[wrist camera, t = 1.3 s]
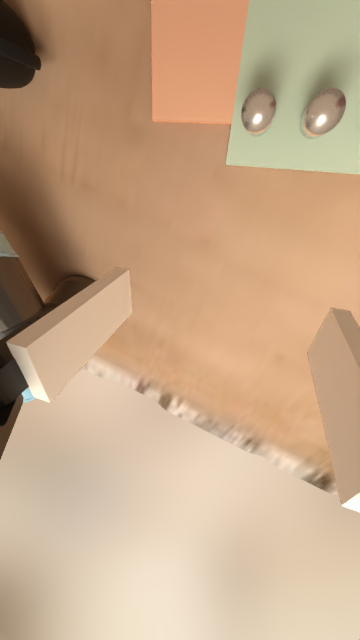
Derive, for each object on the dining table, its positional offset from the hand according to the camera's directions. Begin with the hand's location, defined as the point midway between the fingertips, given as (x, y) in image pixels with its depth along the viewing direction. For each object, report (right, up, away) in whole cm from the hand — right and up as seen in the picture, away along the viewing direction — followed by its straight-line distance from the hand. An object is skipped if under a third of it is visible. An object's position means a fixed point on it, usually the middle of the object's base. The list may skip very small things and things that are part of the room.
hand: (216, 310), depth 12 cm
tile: (0, +29, +13) cm, 32 cm away
